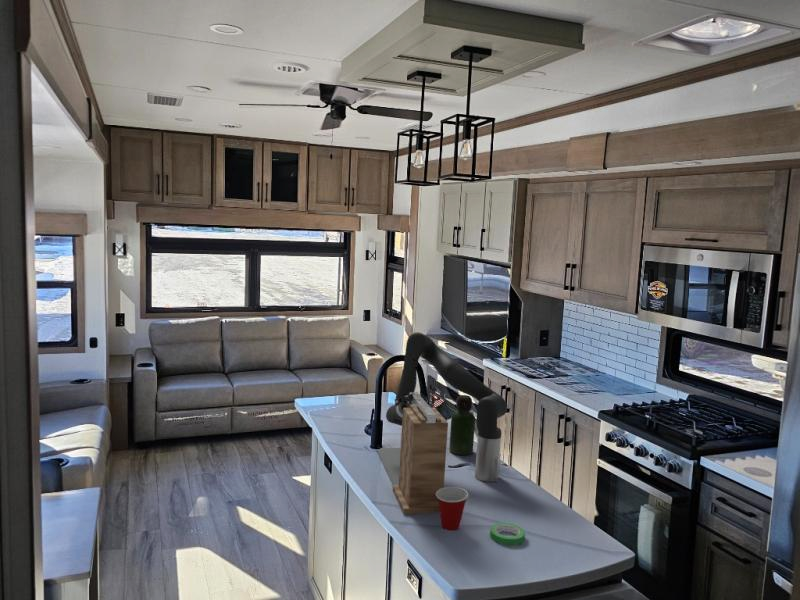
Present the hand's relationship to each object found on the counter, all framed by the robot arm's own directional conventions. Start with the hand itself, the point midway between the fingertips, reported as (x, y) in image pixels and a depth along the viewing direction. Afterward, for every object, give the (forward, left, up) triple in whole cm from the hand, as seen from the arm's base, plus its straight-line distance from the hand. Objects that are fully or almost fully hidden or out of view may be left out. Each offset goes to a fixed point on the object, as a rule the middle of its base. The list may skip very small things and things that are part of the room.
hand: (416, 396), depth 247 cm
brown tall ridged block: (-7, +12, -35) cm, 38 cm away
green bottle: (-9, -45, -35) cm, 58 cm away
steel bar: (-4, +7, -3) cm, 9 cm away
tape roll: (-41, +26, -36) cm, 60 cm away
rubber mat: (+9, -16, -35) cm, 40 cm away
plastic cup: (-22, +27, -35) cm, 49 cm away
